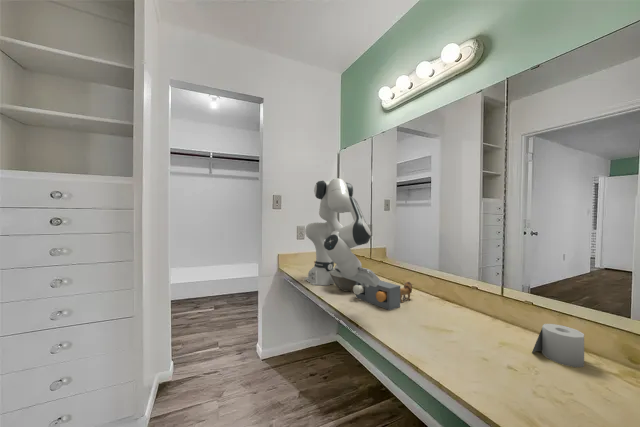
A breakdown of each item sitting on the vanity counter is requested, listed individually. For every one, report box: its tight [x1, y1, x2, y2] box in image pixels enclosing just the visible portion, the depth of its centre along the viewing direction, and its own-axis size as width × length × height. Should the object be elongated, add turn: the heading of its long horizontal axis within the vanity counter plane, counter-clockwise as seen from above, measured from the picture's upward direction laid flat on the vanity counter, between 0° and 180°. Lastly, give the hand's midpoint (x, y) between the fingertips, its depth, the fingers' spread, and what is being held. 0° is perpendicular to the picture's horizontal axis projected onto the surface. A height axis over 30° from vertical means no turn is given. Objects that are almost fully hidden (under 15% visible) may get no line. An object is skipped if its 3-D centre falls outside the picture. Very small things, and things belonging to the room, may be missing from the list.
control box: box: [355, 280, 401, 311], centre depth 126 cm, size 22×8×10 cm, turn 36°
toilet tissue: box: [531, 323, 585, 368], centre depth 77 cm, size 9×13×9 cm
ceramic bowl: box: [329, 269, 356, 292], centre depth 148 cm, size 22×23×10 cm
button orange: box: [376, 291, 387, 302], centre depth 119 cm, size 5×5×5 cm
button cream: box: [352, 285, 365, 296], centre depth 129 cm, size 5×5×5 cm
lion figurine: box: [400, 280, 413, 304], centre depth 129 cm, size 15×5×9 cm, turn 132°
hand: (366, 285), depth 112 cm, fingers closed
